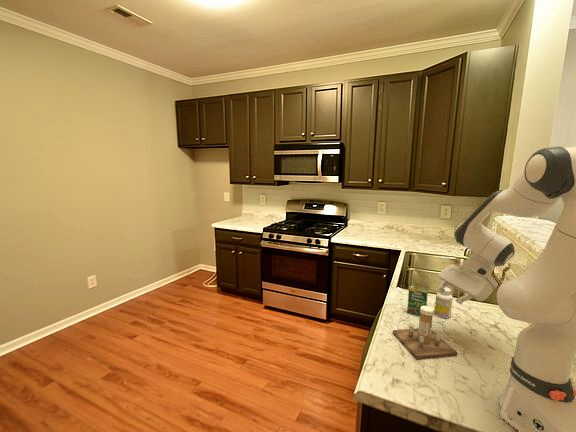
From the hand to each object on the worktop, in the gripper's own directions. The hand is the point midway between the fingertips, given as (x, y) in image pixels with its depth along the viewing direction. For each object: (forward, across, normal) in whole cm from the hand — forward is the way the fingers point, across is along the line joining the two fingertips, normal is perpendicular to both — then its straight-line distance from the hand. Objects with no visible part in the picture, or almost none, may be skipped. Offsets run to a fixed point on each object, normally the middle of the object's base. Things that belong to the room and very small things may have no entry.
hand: (448, 296), depth 105 cm
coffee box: (+12, -21, +15) cm, 29 cm away
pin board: (+19, 0, +8) cm, 21 cm away
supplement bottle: (+3, -19, +24) cm, 31 cm away
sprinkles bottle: (+18, 0, +7) cm, 20 cm away
